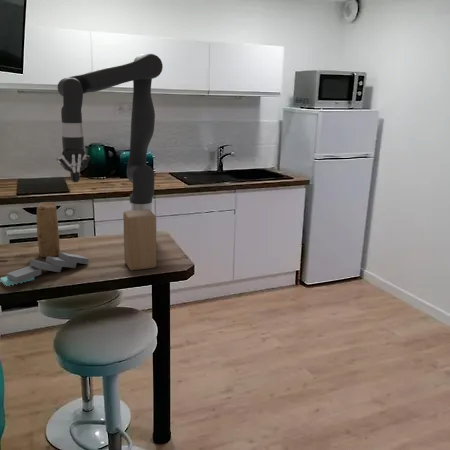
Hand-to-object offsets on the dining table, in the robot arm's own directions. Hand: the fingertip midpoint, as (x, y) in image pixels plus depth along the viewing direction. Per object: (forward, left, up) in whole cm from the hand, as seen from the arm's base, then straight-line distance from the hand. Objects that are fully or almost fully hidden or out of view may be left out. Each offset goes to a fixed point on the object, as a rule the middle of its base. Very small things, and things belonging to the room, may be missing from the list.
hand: (75, 181), depth 169 cm
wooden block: (-10, +27, -28) cm, 40 cm away
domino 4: (+9, +12, -27) cm, 31 cm away
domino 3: (+15, +13, -27) cm, 33 cm away
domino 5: (+4, +12, -27) cm, 30 cm away
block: (+10, -4, -28) cm, 30 cm away
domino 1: (+24, +13, -27) cm, 39 cm away
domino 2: (+23, +13, -25) cm, 37 cm away
